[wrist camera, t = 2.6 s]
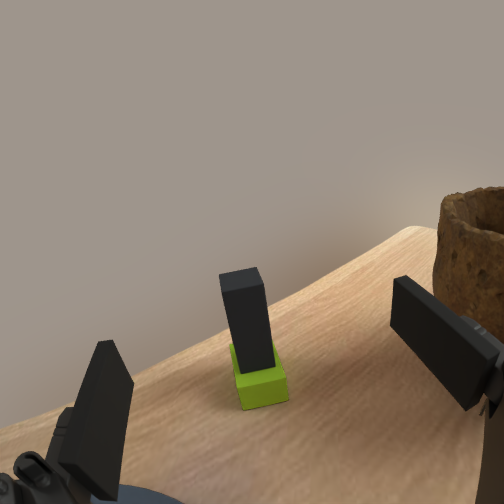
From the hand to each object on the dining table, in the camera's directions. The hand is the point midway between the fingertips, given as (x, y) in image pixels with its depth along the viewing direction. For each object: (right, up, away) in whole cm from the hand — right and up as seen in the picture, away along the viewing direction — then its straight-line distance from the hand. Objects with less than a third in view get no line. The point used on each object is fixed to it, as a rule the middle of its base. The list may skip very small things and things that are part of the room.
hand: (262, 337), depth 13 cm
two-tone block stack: (0, -8, +14) cm, 16 cm away
